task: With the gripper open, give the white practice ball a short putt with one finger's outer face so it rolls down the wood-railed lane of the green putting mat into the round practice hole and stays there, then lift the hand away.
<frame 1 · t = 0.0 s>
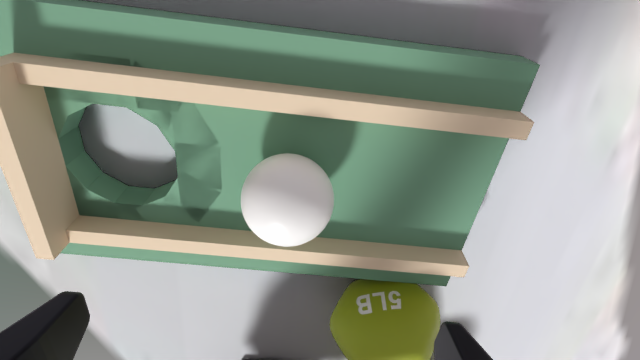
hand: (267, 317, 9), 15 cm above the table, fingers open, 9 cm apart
dumbbell: (390, 329, 32), on the table, touching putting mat
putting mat: (262, 157, 23), on the table
golf ball: (287, 199, 20), point 4 cm above the table, touching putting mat
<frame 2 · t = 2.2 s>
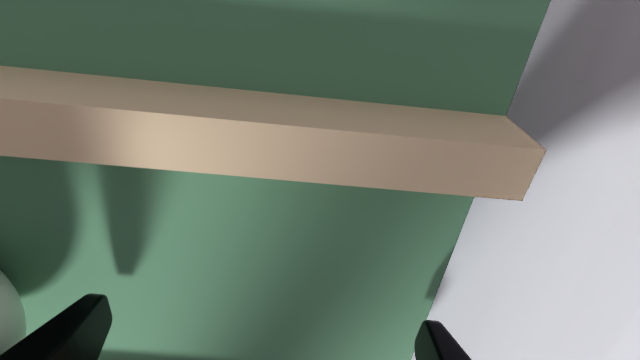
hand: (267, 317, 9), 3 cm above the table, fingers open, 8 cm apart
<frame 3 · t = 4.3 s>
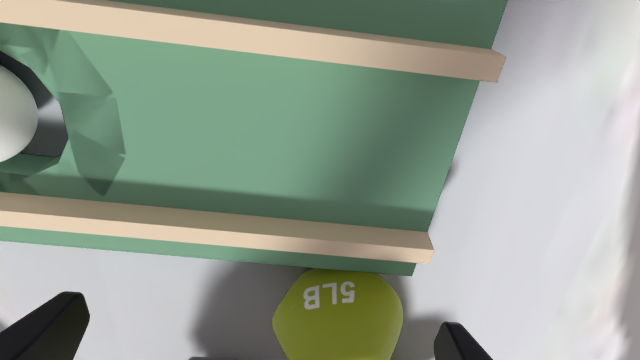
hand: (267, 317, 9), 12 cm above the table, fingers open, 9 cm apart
dumbbell: (355, 327, 28), on the table, touching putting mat
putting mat: (181, 116, 19), on the table
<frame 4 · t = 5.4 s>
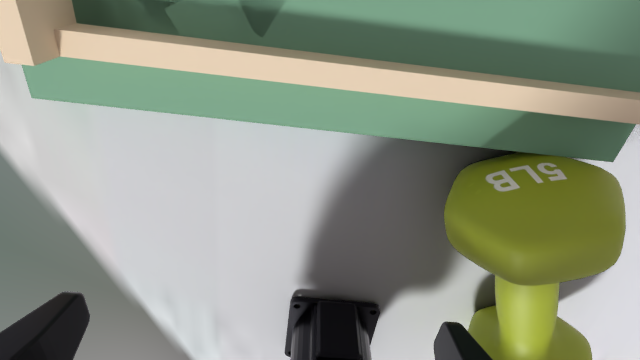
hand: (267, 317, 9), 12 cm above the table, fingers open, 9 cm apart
dumbbell: (497, 250, 24), on the table, touching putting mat
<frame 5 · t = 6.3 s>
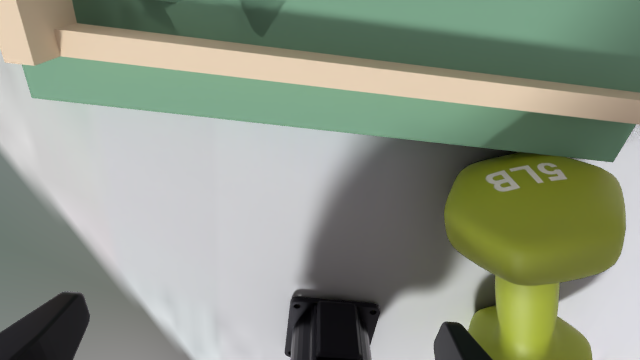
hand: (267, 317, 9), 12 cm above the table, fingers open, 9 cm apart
dumbbell: (498, 250, 24), on the table, touching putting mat
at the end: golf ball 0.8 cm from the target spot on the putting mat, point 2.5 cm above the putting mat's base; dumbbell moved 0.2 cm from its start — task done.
